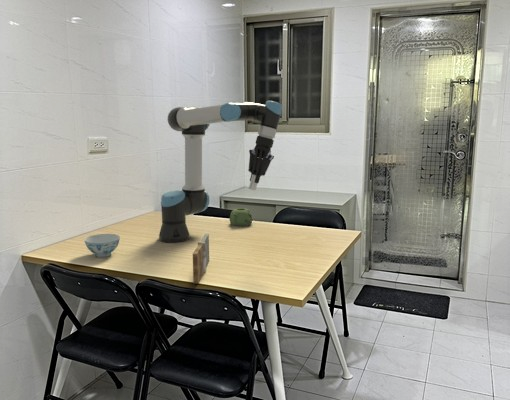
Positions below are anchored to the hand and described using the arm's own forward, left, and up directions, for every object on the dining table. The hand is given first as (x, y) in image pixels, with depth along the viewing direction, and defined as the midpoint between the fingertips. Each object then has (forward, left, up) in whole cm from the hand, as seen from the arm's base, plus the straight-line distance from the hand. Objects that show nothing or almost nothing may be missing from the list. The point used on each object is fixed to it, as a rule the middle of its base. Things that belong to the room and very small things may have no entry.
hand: (252, 189), depth 206 cm
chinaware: (-58, -33, -29) cm, 73 cm away
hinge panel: (-8, -26, -29) cm, 40 cm away
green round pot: (-31, +43, -29) cm, 60 cm away
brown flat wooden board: (-3, -37, -29) cm, 47 cm away
